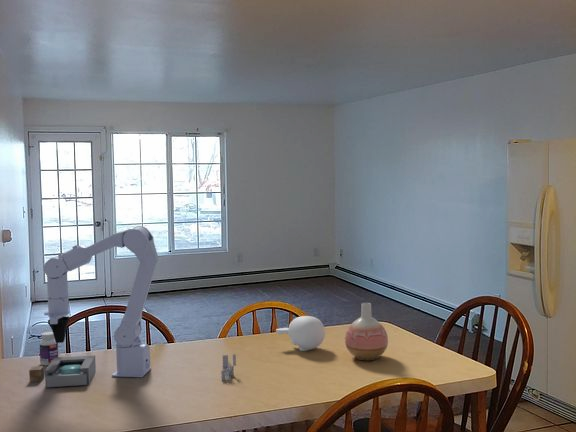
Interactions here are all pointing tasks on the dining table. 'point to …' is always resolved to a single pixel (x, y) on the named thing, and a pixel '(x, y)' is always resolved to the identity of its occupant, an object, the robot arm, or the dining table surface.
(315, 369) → the dining table surface
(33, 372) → the brown rectangular block
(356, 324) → the vase
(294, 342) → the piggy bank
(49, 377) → the tray
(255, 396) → the dining table surface
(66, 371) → the teal rounded dome
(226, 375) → the architectural model
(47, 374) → the grey drawer housing
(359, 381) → the dining table surface
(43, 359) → the pill bottle
